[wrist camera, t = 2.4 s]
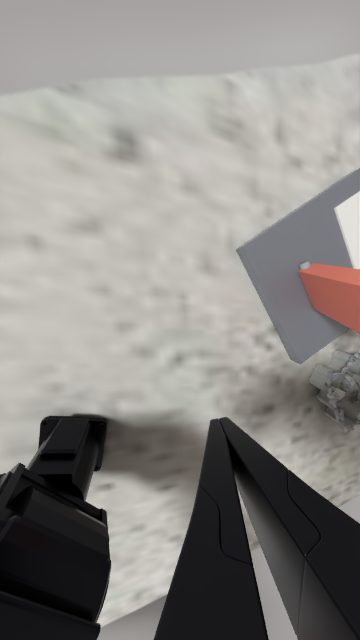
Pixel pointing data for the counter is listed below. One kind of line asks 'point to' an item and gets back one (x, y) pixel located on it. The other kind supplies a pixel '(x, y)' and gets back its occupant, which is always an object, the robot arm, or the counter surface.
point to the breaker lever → (333, 292)
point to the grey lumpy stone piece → (339, 388)
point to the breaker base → (296, 247)
